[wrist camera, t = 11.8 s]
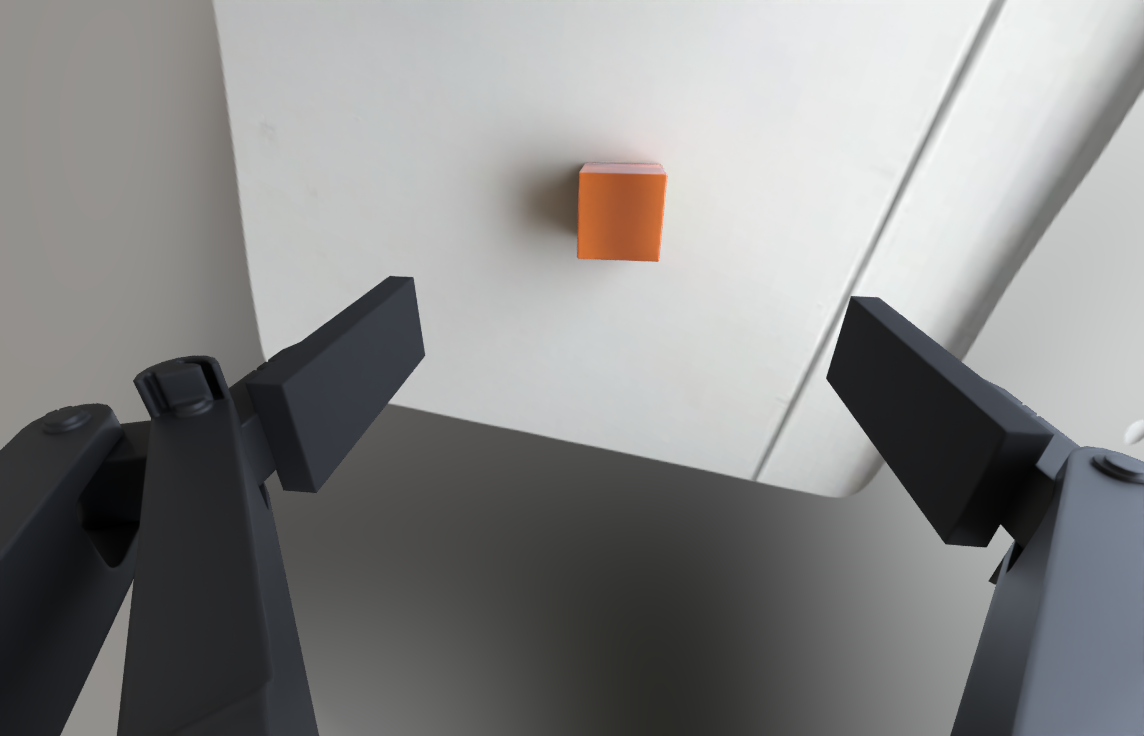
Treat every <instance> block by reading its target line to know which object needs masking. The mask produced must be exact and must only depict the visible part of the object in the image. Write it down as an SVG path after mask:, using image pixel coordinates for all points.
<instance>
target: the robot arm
mask: <svg viewBox="0 0 1144 736" xmlns="http://www.w3.org/2000/svg"><path fill="white" fill-rule="evenodd" d="M424 356H425V351H424V345H423V338H422V332H421V325H420V318H419V312H418V305H417V298H416V292H415V285H414V278H413V277H398V276H389V277H388V278H386V279H385V280H384V281H382V282H381V283H380V284H378V285H377V286H376V287H374V288H373V289H372V290H370V291H369V292H368V293H366V294H365V295H363V296H362V297H361V298H359V299H358V300H357V301H355V302H354V303H353V304H351V305H350V306H349V307H347V308H346V309H344V310H343V311H342V312H340V313H339V314H338V315H336V316H335V317H334V318H332V319H331V320H330V321H328V322H327V323H326V324H324V325H323V326H321V327H320V328H319V329H317V330H316V331H315V332H313V333H312V334H311V335H309V336H308V337H307V338H305V339H304V340H303V341H301V342H299V343H297V344H295V345H292V346H290V347H288V348H285V349H283V350H281V351H280V352H278V353H277V354H276V355H274V356H273V357H271V358H270V359H269V360H268V362H265V363H263V364H262V365H260V366H259V367H258V368H257V370H254V371H252V372H251V373H249V374H248V375H247V376H245V377H244V378H242V379H241V380H240V381H238V382H237V383H235V384H234V385H233V386H231V387H230V388H229V389H228V386H227V384H226V381H225V378H224V376H223V373H222V371H221V368H220V365H219V363H218V361H217V360H216V359H215V358H213V357H209V356H188V357H181V358H176V359H172V360H168V361H165V362H161V363H159V364H156V365H154V366H151V367H149V368H147V369H146V370H144V371H142V372H141V373H139V374H138V375H137V376H136V377H135V379H134V380H133V382H134V384H135V386H136V388H137V390H138V392H139V394H140V396H141V398H142V400H143V402H144V404H145V406H146V408H147V410H148V412H149V415H150V417H151V421H142V422H133V423H125V424H120V423H119V421H118V420H117V418H116V416H115V414H114V412H113V410H112V409H111V408H110V407H109V406H108V405H103V404H98V403H97V404H84V405H79V406H74V407H72V406H68V407H64V408H61V409H59V410H55V411H52V412H49V413H47V414H46V415H45V416H43V417H41V418H39V419H37V420H35V421H33V422H31V423H30V424H29V425H27V426H26V427H25V428H23V429H22V430H21V431H20V432H19V433H18V434H17V435H16V436H15V437H14V438H13V439H12V440H11V441H10V442H9V443H8V444H7V445H6V446H5V447H4V448H2V449H1V450H0V736H60V735H61V733H62V731H63V728H64V726H65V724H66V722H67V720H68V718H69V716H70V713H71V711H72V709H73V707H74V705H75V703H76V701H77V698H78V696H79V694H80V692H81V690H82V688H83V686H84V684H85V681H86V679H87V677H88V675H89V673H90V671H91V669H92V666H93V664H94V662H95V660H96V658H97V656H98V654H99V651H100V649H101V647H102V645H103V643H104V641H105V638H106V637H107V634H108V632H109V630H110V628H111V626H112V624H113V622H114V619H115V617H116V615H117V613H118V611H119V609H120V607H121V605H122V602H123V600H124V598H125V596H126V594H127V592H128V589H129V587H130V585H131V583H132V581H133V579H134V582H133V591H132V600H131V609H130V619H129V628H128V637H127V646H126V656H125V665H124V674H123V684H122V693H121V702H120V711H119V720H118V730H117V736H319V734H318V729H317V724H316V720H315V715H314V709H313V705H312V700H311V695H310V690H309V685H308V680H307V676H306V671H305V666H304V662H303V656H302V652H301V647H300V642H299V637H298V632H297V628H296V623H295V618H294V613H293V608H292V603H291V598H290V594H289V589H288V584H287V580H286V574H285V570H284V565H283V560H282V555H281V550H280V545H279V541H278V536H277V531H276V526H275V522H274V517H273V512H272V507H271V502H270V497H269V494H268V491H267V488H266V486H265V483H264V481H265V480H266V479H267V478H268V477H269V476H270V475H271V474H272V473H273V472H274V471H275V470H277V474H278V476H279V479H280V482H281V485H282V487H283V490H286V491H299V492H312V493H317V492H318V490H319V489H320V488H321V487H322V485H323V484H324V483H325V482H326V480H327V479H328V478H329V477H330V475H331V474H332V473H333V471H334V470H335V469H336V468H337V466H338V465H339V464H340V463H341V461H342V460H343V459H344V457H345V456H346V455H347V453H348V452H349V451H350V450H351V449H352V447H353V446H354V445H355V443H356V442H357V441H358V440H359V439H360V437H361V436H362V435H363V433H364V432H365V431H366V430H367V428H368V427H369V426H370V425H371V423H372V422H373V421H374V420H375V418H376V417H377V416H378V415H379V413H380V412H381V411H382V410H383V408H384V407H385V406H386V404H387V403H388V402H389V401H390V399H391V398H392V397H393V396H394V394H395V393H396V392H397V391H398V389H399V388H400V387H401V386H402V384H403V383H404V382H405V380H406V379H407V378H408V377H409V375H410V374H411V373H412V372H413V370H414V369H415V368H416V367H417V365H418V364H419V363H420V361H421V360H422V359H423V358H424ZM826 379H827V380H828V382H829V383H830V385H831V386H832V387H833V389H834V390H835V392H836V393H837V394H838V396H839V397H840V398H841V400H842V401H843V403H844V404H845V405H846V407H847V408H848V410H849V411H850V412H851V414H852V415H853V417H854V418H855V419H856V421H857V422H858V423H859V425H860V426H861V428H862V429H863V430H864V432H865V433H866V435H867V436H868V437H869V439H870V440H871V442H872V443H873V444H874V446H875V447H876V448H877V450H878V451H879V453H880V454H881V455H882V457H883V458H884V460H885V461H886V462H887V464H888V465H889V467H890V468H891V469H892V471H893V472H894V473H895V475H896V476H897V477H898V479H899V480H900V482H901V483H902V485H903V486H904V487H905V489H906V490H907V492H908V493H909V494H910V496H911V497H912V498H913V500H914V501H915V503H916V504H917V505H918V507H919V508H920V510H921V511H922V512H923V514H924V515H925V517H926V518H927V519H928V521H929V522H930V523H931V525H932V526H933V527H934V529H935V530H936V532H937V533H938V535H939V536H940V537H941V539H942V540H943V541H944V543H945V544H949V545H961V546H974V547H987V546H988V544H989V542H990V541H991V539H992V537H993V536H994V534H995V532H996V531H997V529H998V527H999V525H1000V524H1001V525H1002V526H1003V527H1004V528H1005V530H1006V531H1007V532H1008V533H1009V534H1010V535H1011V536H1012V537H1013V539H1014V542H1013V543H1012V545H1011V547H1010V548H1009V550H1008V551H1007V553H1006V555H1005V556H1004V558H1003V559H1002V561H1001V563H1000V564H999V565H998V567H997V568H996V570H995V572H994V573H993V575H992V577H991V578H990V580H989V582H991V583H993V584H996V587H995V590H994V594H993V597H992V601H991V604H990V607H989V610H988V614H987V617H986V620H985V623H984V627H983V630H982V633H981V637H980V640H979V643H978V647H977V650H976V653H975V656H974V660H973V663H972V666H971V670H970V673H969V676H968V679H967V683H966V686H965V689H964V693H963V696H962V699H961V703H960V706H959V709H958V713H957V716H956V719H955V722H954V726H953V729H952V732H951V736H1144V462H1143V461H1140V460H1138V459H1135V458H1133V457H1130V456H1128V455H1125V454H1123V453H1119V452H1115V451H1111V450H1108V449H1104V448H1095V447H1088V446H1086V447H1080V446H1078V445H1077V444H1076V443H1074V442H1073V441H1072V440H1071V439H1069V438H1068V437H1067V436H1065V435H1064V434H1063V433H1061V432H1060V431H1059V430H1057V429H1056V428H1055V427H1054V426H1052V425H1051V424H1050V423H1048V422H1047V421H1045V420H1044V419H1043V418H1042V417H1040V416H1036V413H1035V412H1034V411H1033V410H1031V409H1030V408H1029V407H1027V406H1026V405H1022V402H1021V401H1019V400H1018V399H1017V398H1015V397H1014V396H1013V395H1012V394H1010V393H1009V392H1008V391H1006V390H1005V389H1003V388H1001V387H999V386H997V385H995V384H993V383H991V382H988V381H987V380H984V379H983V378H981V377H980V376H979V375H978V374H976V373H975V372H974V371H972V370H971V369H970V368H969V367H967V366H966V365H965V364H963V363H962V362H961V361H960V360H958V359H957V358H956V357H954V356H953V355H952V354H951V353H949V352H948V351H947V350H945V349H944V348H943V347H942V346H940V345H939V344H938V343H936V342H935V341H934V340H933V339H931V338H930V337H929V336H927V335H926V334H925V333H924V332H922V331H921V330H920V329H918V328H917V327H916V326H915V325H913V324H912V323H911V322H909V321H908V320H907V319H906V318H904V317H903V316H902V315H900V314H899V313H898V312H897V311H895V310H894V309H893V308H891V307H890V306H889V305H888V304H886V303H885V302H884V301H882V300H881V299H880V298H879V297H857V296H851V298H850V301H849V304H848V308H847V311H846V314H845V318H844V321H843V324H842V328H841V331H840V334H839V337H838V341H837V344H836V347H835V351H834V354H833V357H832V360H831V364H830V367H829V370H828V374H827V377H826Z"/></svg>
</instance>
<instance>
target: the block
mask: <svg viewBox="0 0 1144 736" xmlns="http://www.w3.org/2000/svg"><path fill="white" fill-rule="evenodd" d="M666 186H667V174H666V172H665V170H664V168H663V167H662V165H661V164H627V163H585V164H584V166H583V167H582V169H581V170H580V172H579V185H578V244H577V258H578V259H601V260H628V261H654V262H658V261H659V256H660V246H661V236H662V226H663V216H664V206H665V196H666Z"/></svg>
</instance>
